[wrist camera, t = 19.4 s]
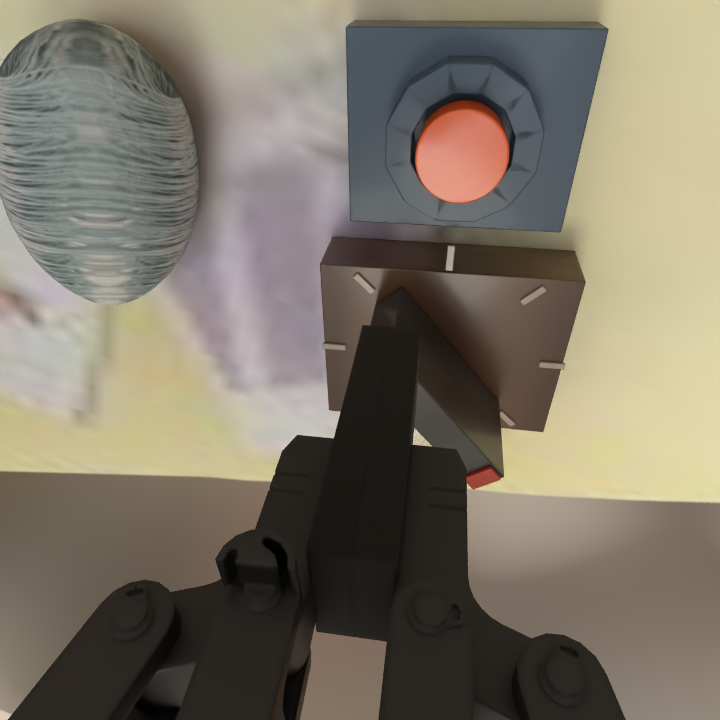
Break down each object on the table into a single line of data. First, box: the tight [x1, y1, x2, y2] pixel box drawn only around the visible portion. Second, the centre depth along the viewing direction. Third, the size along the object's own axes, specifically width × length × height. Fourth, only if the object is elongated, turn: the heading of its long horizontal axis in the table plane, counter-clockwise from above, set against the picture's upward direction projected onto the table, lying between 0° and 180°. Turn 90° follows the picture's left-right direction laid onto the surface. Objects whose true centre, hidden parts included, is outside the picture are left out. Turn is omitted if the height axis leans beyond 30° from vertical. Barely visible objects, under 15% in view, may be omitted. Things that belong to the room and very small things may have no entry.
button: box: [415, 100, 509, 203], centre depth 24 cm, size 4×4×2 cm
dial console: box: [320, 237, 585, 432], centre depth 33 cm, size 14×14×4 cm
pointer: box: [370, 287, 504, 489], centre depth 30 cm, size 10×2×6 cm, turn 40°
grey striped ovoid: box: [0, 19, 199, 305], centre depth 28 cm, size 14×10×10 cm
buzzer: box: [346, 20, 608, 232], centre depth 26 cm, size 11×9×4 cm
